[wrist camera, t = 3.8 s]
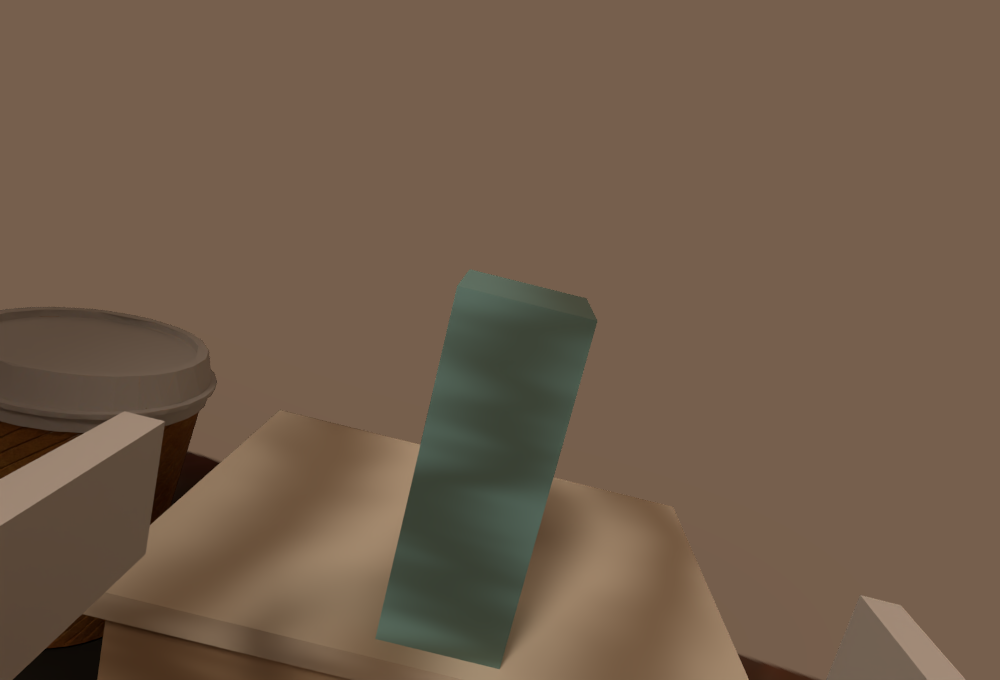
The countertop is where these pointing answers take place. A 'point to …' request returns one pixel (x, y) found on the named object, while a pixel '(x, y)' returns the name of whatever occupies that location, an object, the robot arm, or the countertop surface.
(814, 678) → the countertop surface
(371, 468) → the lid
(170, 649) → the carton
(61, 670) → the countertop surface
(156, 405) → the disposable coffee cup
